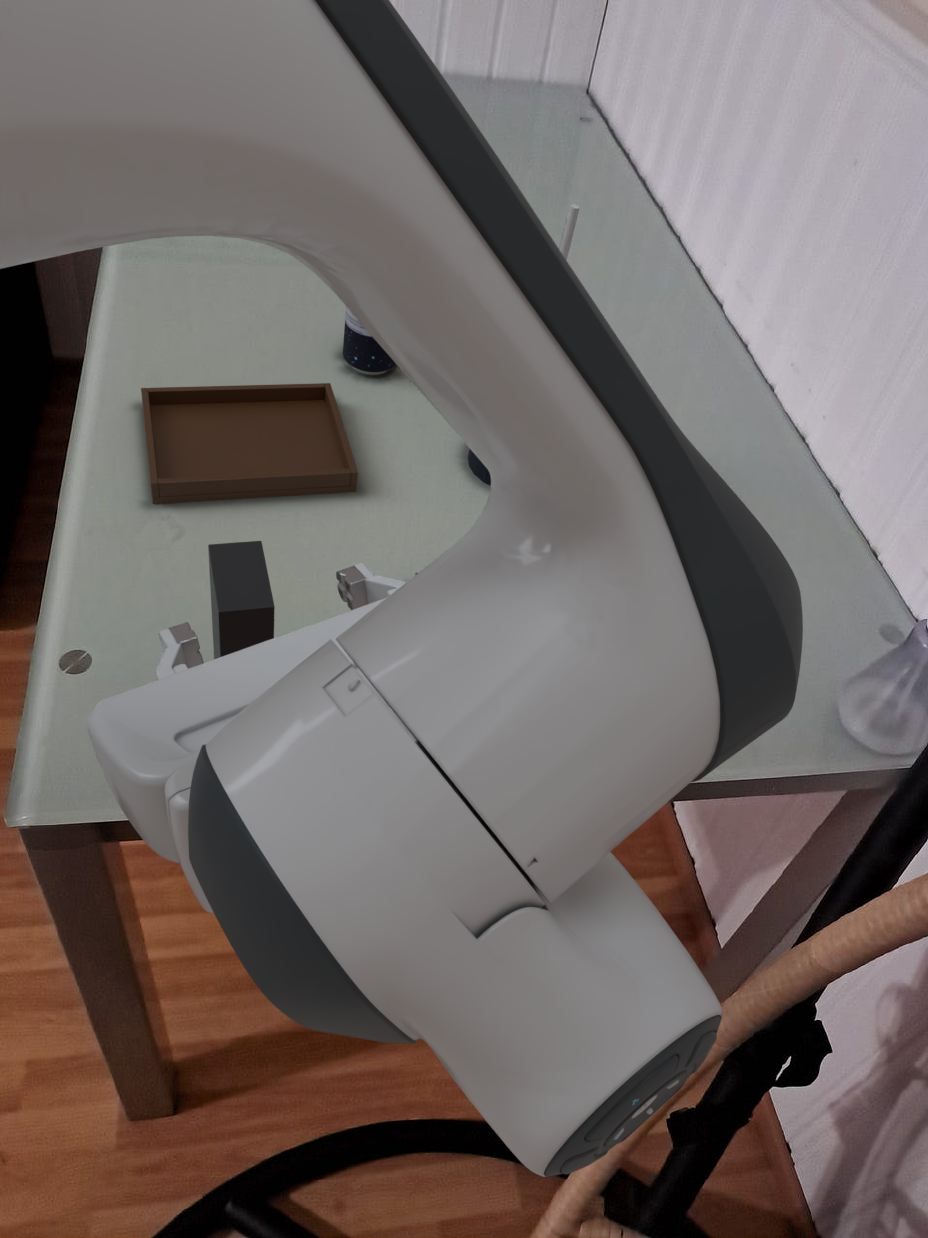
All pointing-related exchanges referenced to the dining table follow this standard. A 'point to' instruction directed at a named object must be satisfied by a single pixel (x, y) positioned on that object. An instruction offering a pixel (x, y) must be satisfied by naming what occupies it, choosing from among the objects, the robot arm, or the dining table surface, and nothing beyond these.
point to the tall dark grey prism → (239, 596)
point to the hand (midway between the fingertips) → (265, 606)
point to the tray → (245, 442)
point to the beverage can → (363, 349)
